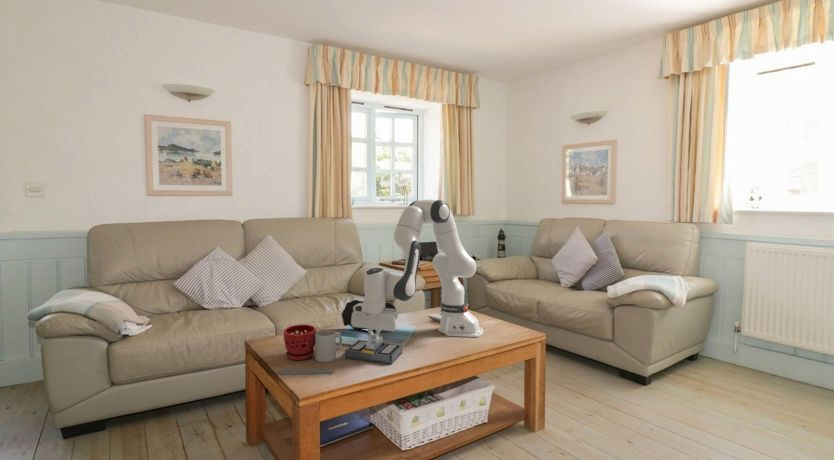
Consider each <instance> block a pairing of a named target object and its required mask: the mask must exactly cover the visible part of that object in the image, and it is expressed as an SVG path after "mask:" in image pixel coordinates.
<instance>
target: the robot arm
mask: <svg viewBox="0 0 834 460" xmlns="http://www.w3.org/2000/svg"><path fill="white" fill-rule="evenodd" d="M449 206H450V205H448V203H447V202H446V201H444V200H441V199H423V200H420V199H419V200H414V201H412V202H410V204H409V205H408V206H406V207H405V208H404V209H403V211H402V212H401V214H400V217H399V219H398V222H397V224H396V227H395V230H394V235H393V239H394V241H395V243H396V245H397V246H398V247H399V248H400V249H402V251H404V253H405V257H406V258H405V263H404V269H403V273H402V274H401V275H398V274H394V273H390V272H387V271H386V270H384V268H382V267H381V268H380V267H372V268H369V269H368V270H367V271H365V275H364V281H363V291H364V298H363V301H364V302H362V303H359V304H357V305H355V306H354V307H353V310H354V312H353V313H352V318H351V325H352V326H353V327H358V328H367V329H368V332H367V333H369V335H370V340H371V339H376V340H377V339H378V336H379V335H380V333H381V332H382V331H386V332H395V331H396V330H397V329H398V328H399V321H398V320H399V319H398V318H399V317H398V316H399V313H398V310H397V309H396V310H395V309H390V308H385V303H386V297H390V298H393V299H396V300H399V301H402V302H407V301H409V300H410V299H411V298H413V297H414V295H415V293H416V291H417V289H416V288H417V276H418V269H419V265H420V259H421V252H422V247H421V244H420V235H421V231H422V228H423V225H424V224H432V228H433V232H434V236H435V241H436V245H437V247H438V248H439V250H441V251H442V252H441V253H437V254H435V255H434V257H433V258H432V261H431V262H432V263H431V265H432V268H433V270H434V272H436V274H437V275H438V277H439V281H440V284H441V302H440V303H441V305H440V314H441V315H440V316H441V317H440V322H439V326H438V332H440V333H442V334H444V335H445V336H447V337H464V338H467V337H468V338H479V337H481V336H482V335H483V334H484V328H482V327H480V324H479V320H478V318H477V317H476V316H475V315H474V314H472V313H471V312H470V311H469V303H465V287H464V286H463V284H462V283H461V281H460V280H459V278H460V279H461V278H462V279H464V278H465V279H466V278H471V277H473V276H474V275H475V274H476V271H477V262H476V260H475V259H474V258H473V257H471V255H469V254H468V252H467V251H466V250H465V247H464V246H463V244H462V242H461V240H460V236H459V232H458V228H457V224H456V220H455V218H454V215H453V213H452V211H451V209H450V207H449ZM373 329H374V330H375V332H376V333H374V332H373V331H374V330H373Z"/></svg>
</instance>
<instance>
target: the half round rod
mask: <svg viewBox="0 0 834 460" xmlns="http://www.w3.org/2000/svg"><path fill="white" fill-rule="evenodd" d="M333 370H334V369H333V368H308V369H307V368H305V369H304V368H303V369H302V368H299V369H280V372H279V375H280V376H314V375H315V376H317V375H318V376H319V374H322V376H323V374H331V375H332V374H333Z"/></svg>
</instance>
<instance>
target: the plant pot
mask: <svg viewBox="0 0 834 460" xmlns="http://www.w3.org/2000/svg"><path fill="white" fill-rule="evenodd" d="M297 332H298V333H297ZM316 332H317V328H316V327H315V326H314V325H312V324H294V325H290V326H288V327H286V328H285V329H284V330H283V341H284V346H285V349H286V353H285V354H286V357H287V358H288V359H290V360H295V361H303V360H307V359H310V358H312V357H313V356H314V354H315V349H314V348H315V333H316Z"/></svg>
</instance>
